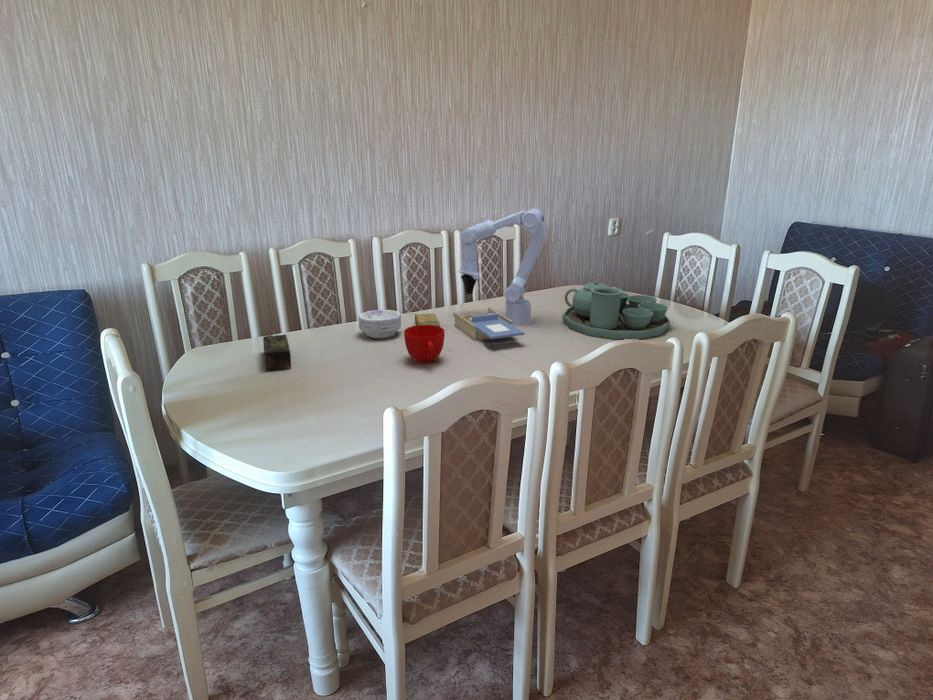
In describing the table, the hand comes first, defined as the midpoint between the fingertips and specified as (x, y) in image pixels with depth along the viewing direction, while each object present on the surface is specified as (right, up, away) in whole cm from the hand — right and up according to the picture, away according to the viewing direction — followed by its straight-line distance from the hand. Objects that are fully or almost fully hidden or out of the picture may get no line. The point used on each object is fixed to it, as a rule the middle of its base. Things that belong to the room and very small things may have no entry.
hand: (469, 293), depth 235 cm
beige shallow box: (+5, -15, -12) cm, 20 cm away
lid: (+9, -15, -23) cm, 28 cm away
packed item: (+3, -13, -8) cm, 16 cm away
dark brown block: (-62, -26, -41) cm, 79 cm away
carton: (-16, -15, -9) cm, 23 cm away
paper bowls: (-33, -17, -16) cm, 40 cm away
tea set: (+57, -12, -2) cm, 58 cm away
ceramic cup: (-14, -26, -42) cm, 52 cm away
